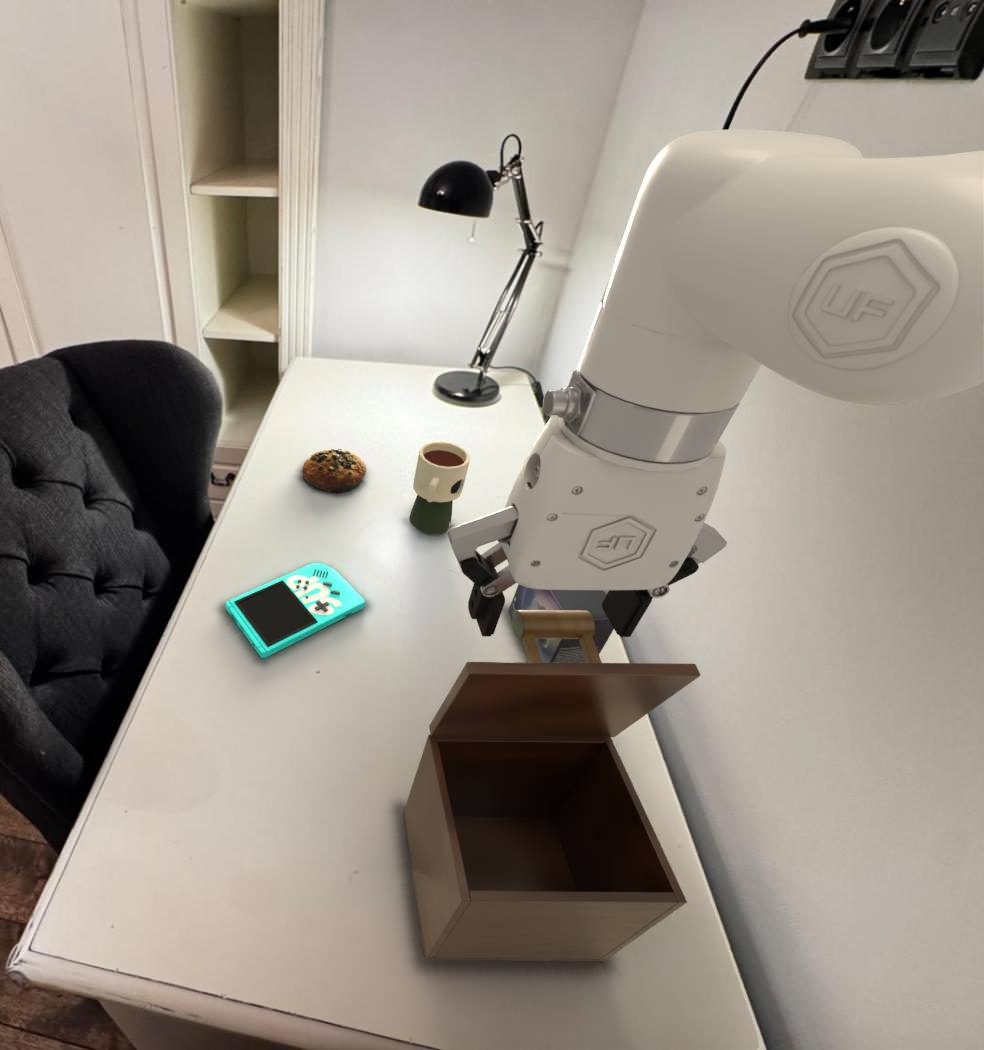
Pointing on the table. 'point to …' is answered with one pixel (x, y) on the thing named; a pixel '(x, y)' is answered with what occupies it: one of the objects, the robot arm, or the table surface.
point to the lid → (556, 687)
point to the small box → (565, 601)
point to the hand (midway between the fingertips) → (547, 621)
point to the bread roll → (334, 470)
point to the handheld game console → (293, 607)
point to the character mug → (438, 485)
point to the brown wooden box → (532, 850)
